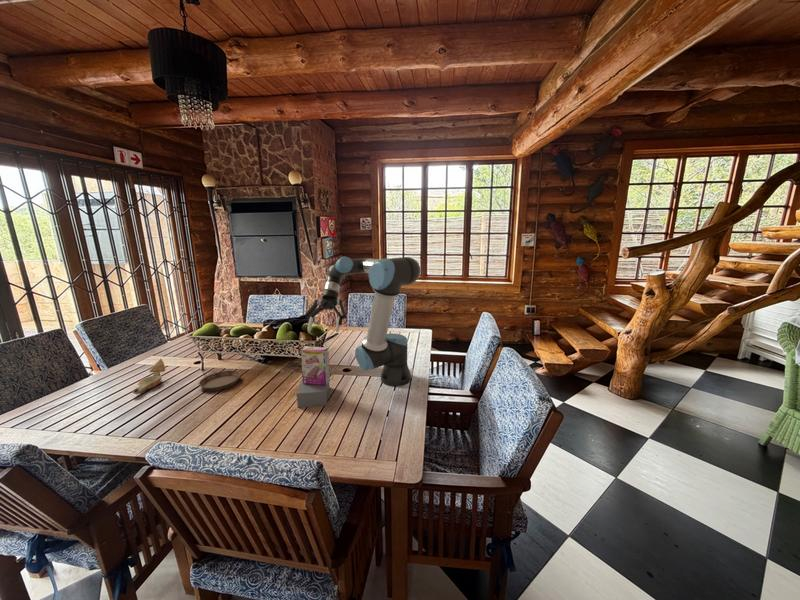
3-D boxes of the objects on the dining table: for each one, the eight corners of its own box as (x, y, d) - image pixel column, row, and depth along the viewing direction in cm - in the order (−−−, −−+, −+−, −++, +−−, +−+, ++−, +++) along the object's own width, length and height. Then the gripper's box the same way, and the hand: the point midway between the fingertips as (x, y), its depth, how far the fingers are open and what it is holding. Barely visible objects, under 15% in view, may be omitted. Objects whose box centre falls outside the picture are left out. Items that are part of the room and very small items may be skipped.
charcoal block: (329, 387, 152) (328, 374, 150) (326, 406, 137) (325, 391, 135) (303, 389, 150) (302, 376, 149) (297, 408, 135) (296, 393, 133)
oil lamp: (173, 376, 164) (169, 358, 162) (145, 397, 144) (140, 377, 141) (155, 377, 164) (151, 359, 161) (124, 398, 143) (119, 378, 141)
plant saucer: (192, 387, 153) (191, 382, 152) (226, 373, 168) (225, 367, 167) (214, 396, 145) (213, 390, 144) (248, 380, 160) (247, 374, 159)
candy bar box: (302, 384, 141) (299, 349, 137) (307, 379, 146) (304, 345, 142) (326, 386, 139) (324, 351, 135) (330, 381, 144) (328, 347, 140)
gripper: (356, 297, 162) (350, 334, 151) (309, 296, 165) (300, 333, 153) (353, 288, 155) (346, 327, 144) (304, 288, 158) (294, 326, 147)
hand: (322, 330), depth 149 cm, fingers open, 13 cm apart
